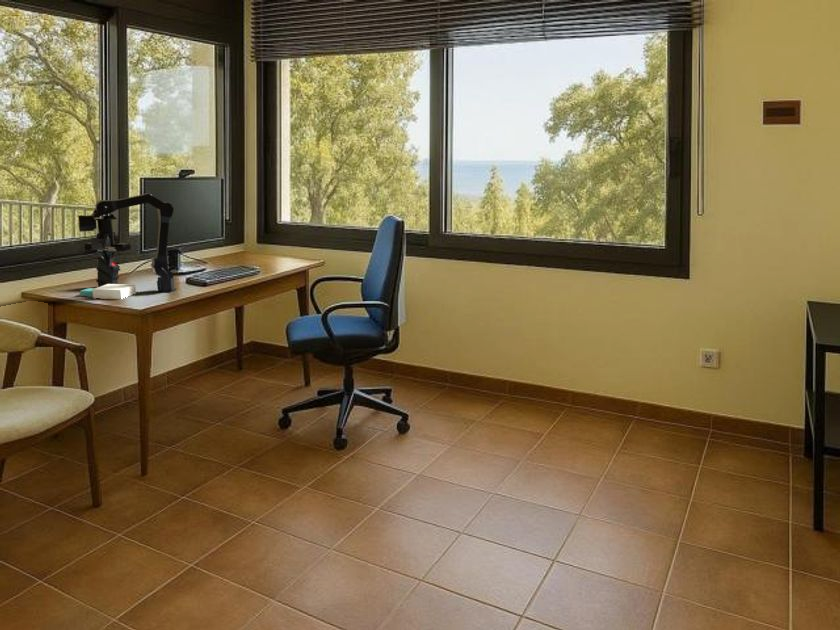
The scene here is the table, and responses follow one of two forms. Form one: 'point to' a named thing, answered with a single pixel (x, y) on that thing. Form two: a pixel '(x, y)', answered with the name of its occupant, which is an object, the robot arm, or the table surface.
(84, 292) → the turquoise slab
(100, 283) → the black stepped slab
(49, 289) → the table surface
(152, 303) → the table surface
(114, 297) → the white flat block
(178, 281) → the table surface
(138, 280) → the table surface
